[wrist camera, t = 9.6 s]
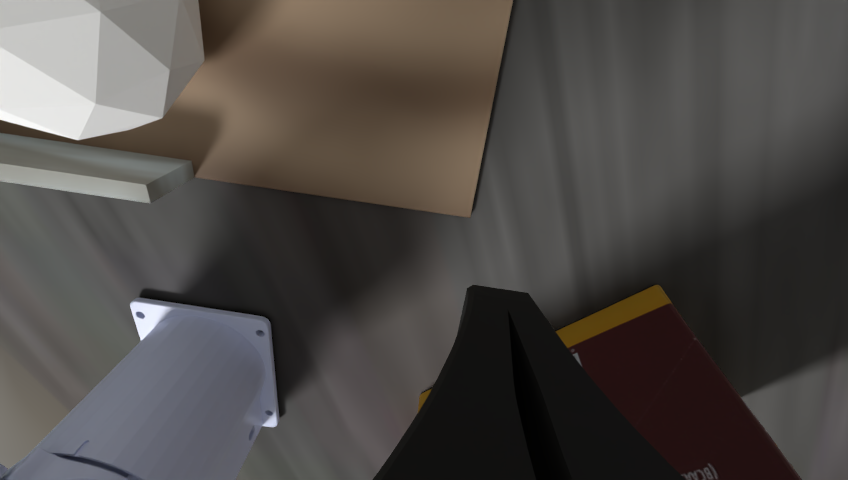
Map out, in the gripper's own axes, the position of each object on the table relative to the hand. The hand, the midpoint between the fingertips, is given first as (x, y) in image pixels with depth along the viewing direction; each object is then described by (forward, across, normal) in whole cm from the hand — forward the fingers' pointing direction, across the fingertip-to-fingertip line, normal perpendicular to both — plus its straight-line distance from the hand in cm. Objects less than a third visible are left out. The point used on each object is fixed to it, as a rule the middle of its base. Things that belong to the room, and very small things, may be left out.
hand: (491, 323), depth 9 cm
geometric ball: (+10, +14, -5) cm, 18 cm away
